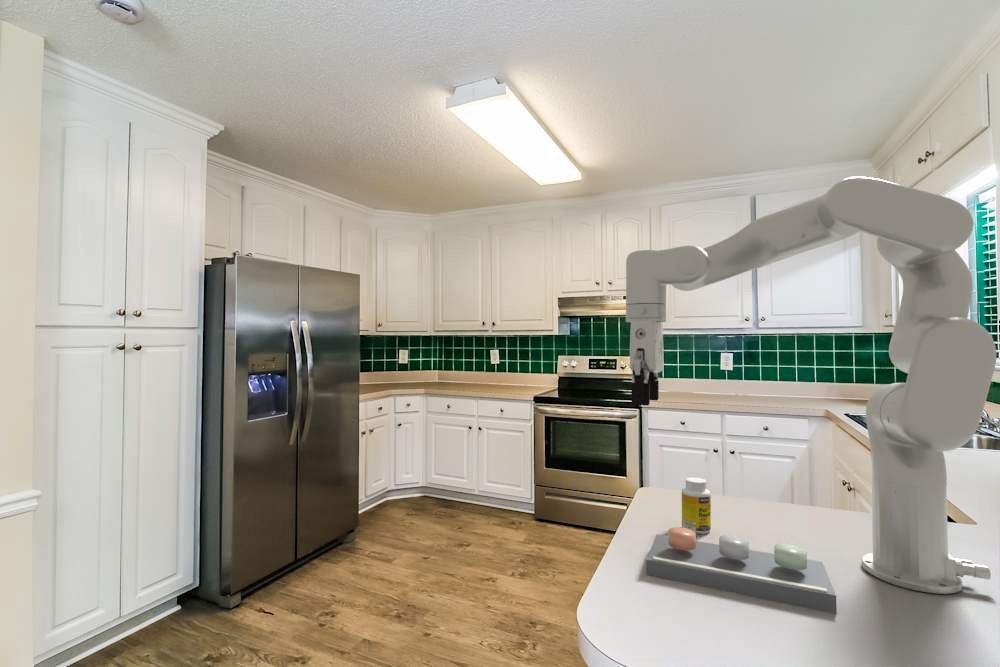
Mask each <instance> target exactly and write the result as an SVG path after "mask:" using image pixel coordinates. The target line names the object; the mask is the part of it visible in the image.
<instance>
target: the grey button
mask: <svg viewBox="0 0 1000 667" xmlns="http://www.w3.org/2000/svg"><path fill="white" fill-rule="evenodd" d="M718 545H719V553H720V554H721V555H723V556H725V557H727V558H731V559H736V560H745V559H748V558H749V550H750V543H749V541H748V539H745V538H743V537H741V536H738V535H730V534H724V535H720V536H719V537H718Z"/></svg>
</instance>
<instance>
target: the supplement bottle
mask: <svg viewBox="0 0 1000 667" xmlns="http://www.w3.org/2000/svg"><path fill="white" fill-rule="evenodd" d="M707 486H708V485H707V480H706V479H704V478H700V477H687V478H685V486H684V487H682V489H681V528H687V529H690V530H692V531H694V532H695V533H696V535H697V534H698V535H705V534H708V533H710V532H711V527H712V526H711V525H712V523H711V522H712V519H711V517H712V516H711V513H712V512H711V511H712V510H711V506H712V502H711V501H712V500H711V498H712V497H711V491H710V490H709V489H708V487H707Z"/></svg>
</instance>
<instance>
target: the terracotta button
mask: <svg viewBox="0 0 1000 667" xmlns="http://www.w3.org/2000/svg"><path fill="white" fill-rule="evenodd" d="M667 534H668V535H667V536H668V544H669V545H670V546H671V547H673V548H675V549H679V550H694V549H695V548H696V541H697V536H696V535H697V534H696V533H695V532H694V531H692V530H690V529H687V528H683V527H682V526H681V527H680V526H678V527H677V526H676V527H675V526H674V527H670V528H668V532H667Z"/></svg>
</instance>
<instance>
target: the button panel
mask: <svg viewBox="0 0 1000 667" xmlns="http://www.w3.org/2000/svg"><path fill="white" fill-rule="evenodd" d="M645 559H646V561H645V563H646V565H645V567H646V570H645V573H646V574H645V575H646V576H648V577H649V576H650V577H655V578H659V579H665V580H669V581H675V582H680V583H683V584H689V585H693V586H698V587H704V588H708V589H713V590H718V591H722V592H728V593H733V594H734V593H735V594H739V595H742V596H743V595H744V596H747V597H754V598H756V599H757V598H758V599H763V600H767V601H774V602H777V603H783V604H786V605H793V606H797V607H801V608H802V607H803V608H806V609H812V610H816V611H822V612H826V613H831V614H837V594H836V592H835V590H834V586H833V585H832V582H831V579H830V577H829V575H828V573H827V571H826V568H825V564H824V562H823V561H819V560H813V559H808V558H807V568H806V569H805V570H792V569H788V568H784V567H782V566H780V565H778V564H776V563H775V561H774V553H770V552H766V551H765V552H764V551H759V550H753V549H749V558H748V559H745V560H736V559H731V558H727V557H725V556H723V555H721V554H720V553H719V543H718V544H717V543H711V542H706V541H699V540H696V548H695V549H694V550H679V549H675V548H673V547H671V546H670V545H669V544H668V535H662V534H656V535H655V538H654V540H653V543H652V545H651V547H650V550H649V552H648V555H647V557H646V558H645Z"/></svg>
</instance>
